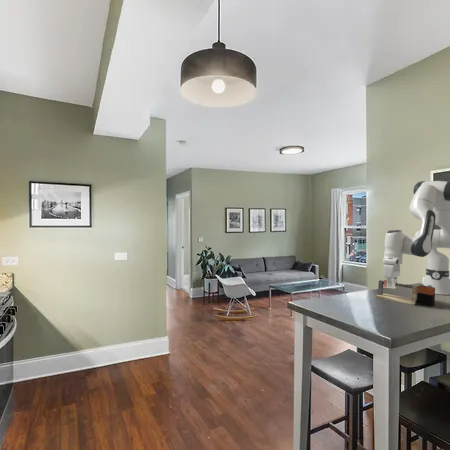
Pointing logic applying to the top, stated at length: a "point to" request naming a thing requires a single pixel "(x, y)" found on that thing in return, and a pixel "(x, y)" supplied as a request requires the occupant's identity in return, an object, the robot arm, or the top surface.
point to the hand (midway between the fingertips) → (391, 285)
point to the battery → (426, 295)
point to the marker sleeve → (393, 284)
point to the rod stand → (397, 298)
